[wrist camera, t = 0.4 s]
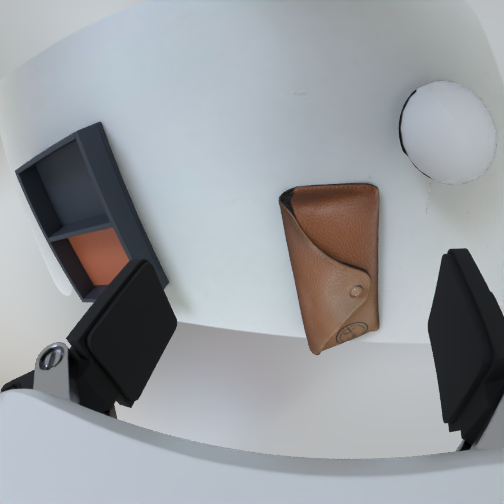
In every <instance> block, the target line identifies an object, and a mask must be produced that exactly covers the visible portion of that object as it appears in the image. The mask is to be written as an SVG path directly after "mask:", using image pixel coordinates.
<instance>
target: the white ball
mask: <svg viewBox="0 0 504 504" xmlns="http://www.w3.org/2000/svg"><path fill="white" fill-rule="evenodd" d="M399 138H400V143H401V147H402V150H403V152H404V153H405V154H406V155H407V156H408V157H409V159H410V160H411V162H412V163H413V164H414V166H415V167H416V168H417V169H418V170H419V171H420V172H422V173H423V174H424V175H426V176H428V177H429V178H432V179H434V180H435V181H437V182H441V183H445V184H449V185H454V184H464V183H467V182H469V181H472V180H474V179H476V178H478V177H480V176H481V175H482V174H483V173H484V172H485V171H486V170H487V169H488V167H489V165H490V164H491V162H492V160H493V158H494V155H495V151H496V146H497V138H496V129H495V125H494V122H493V119H492V116H491V113H490V111H489V109H488V108H487V107H486V105H485V104H484V102H483V101H482V99H481V98H479V97H478V96H477V95H476V94H474V93H473V92H472V91H471V90H469V89H468V88H466V87H464V86H462V85H460V84H457V83H454V82H451V81H434V82H431V83H429V84H426V85H424V86H422V87H419V88H418V89H416V90H415V91H414V92H413V93H412V94H411V95H410V96H409V97H408V99H407V101H406V102H405V104H404V106H403V109H402V111H401V115H400V120H399ZM430 185H431V183H430ZM429 191H430V189H429ZM428 200H429V197H428ZM427 206H428V204H427ZM426 214H427V210H426Z"/></svg>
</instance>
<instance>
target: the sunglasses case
mask: <svg viewBox="0 0 504 504" xmlns="http://www.w3.org/2000/svg"><path fill="white" fill-rule="evenodd" d="M279 205H280V208H281V214H282V220H283V225H284V230H285V236H286V241H287V246H288V251H289V256H290V261H291V266H292V271H293V275H294V280H295V285H296V290H297V294H298V300H299V305H300V310H301V315H302V320H303V324H304V329H305V333H306V336H307V340H308V345H309V348H310V350H311V352H312V353H313V354H315V355H319V354H320V353H321V351H324V350H326V349H329V348H331V347H334V346H336V345H338V344H342V343H344V342H346V341H349V340H351V339H354V338H356V337H359V336H361V335H363V334H366V333H368V332H370V331H377V330H378V329H379V318H378V317H379V316H378V220H379V191H378V188H377V187H375V186H374V185H371V184H368V183H346V184H328V185H311V186H300V187H295V188H292V189H289V190H287V191H286V192H284V193H283V194H281V196H280V197H279Z"/></svg>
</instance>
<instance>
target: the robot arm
mask: <svg viewBox="0 0 504 504" xmlns="http://www.w3.org/2000/svg"><path fill="white" fill-rule="evenodd" d="M176 327H177V319H176V317H175V315H174V312H173V310H172V308H171V306H170V304H169V301H168V299H167V297H166V295H165V292H164V290H163V288H162V285H161V283H160V281H159V278H158V276H157V274H156V271H155V269H154V266H153V265H152V264H151V263H149V261H148V260H147V259H132V260H130V261H129V262H128V263H127V264H126V265H125V266H124V268H123V269H122V270H121V271H120V272H119V273H118V274H117V276H116V277H115V278H114V279H113V280H112V282H111V283H110V284H109V285H108V286H107V287H106V289H105V290H104V291H103V292H102V294H101V295H100V296H99V297H98V298H97V300H96V301H95V302H94V303H93V305H92V306H91V307H90V308H89V309H88V311H87V312H86V313H85V315H84V316H83V317H82V318H81V320H80V321H79V322H78V323H77V325H76V326H75V327H74V329H73V330H72V331H71V332H70V334H69V335H68V336H67V338H66V339H67V340H68V342H69V343H70V344H71V348H70V349H69V348H68V347H67V346H66V344H64V343H62V342H56V343H53V344H51V345H49V346H47V347H46V348H45V349H44V350H43V351H42V352H41V353H40V354H39V356H38V358H37V360H36V363H35V370H33V371H31V372H29V373H27V374H25V375H23V376H21V377H18V378H16V379H14V380H12V381H10V382H8V383H6V384H5V385H4V386H3V387H2V389H1V393H0V504H504V316H503V314H502V311H501V309H500V307H499V305H498V303H497V301H496V299H495V297H494V295H493V293H492V292H490V290H489V288H488V286H487V284H486V282H485V280H484V278H483V276H482V274H481V273H480V271H479V269H478V267H477V265H476V263H475V261H474V260H473V258H472V256H471V254H470V253H469V251H468V250H467V249H466V248H463V249H449V250H448V253H447V254H444V255H443V256H442V260H441V266H440V271H439V276H438V281H437V286H436V291H435V295H434V299H433V304H432V308H431V312H430V316H429V320H428V333H429V337H430V342H431V346H432V352H433V357H434V362H435V368H436V373H437V379H438V385H439V392H440V400H441V408H442V416H443V421H444V423H448V425H449V432H453V431H459V430H461V436H462V439H463V441H462V443H461V444H460V446H459V447H458V449H457V450H456V451H455V452H448V453H440V454H431V455H423V456H412V457H399V458H378V459H321V458H304V457H291V456H280V455H271V454H262V453H255V452H249V451H242V450H236V449H230V448H224V447H219V446H213V445H209V444H204V443H200V442H195V441H190V440H186V439H182V438H178V437H174V436H171V435H167V434H163V433H159V432H156V431H153V430H149V429H146V428H142V427H139V426H136V425H133V424H130V423H127V422H124V421H121V420H118V419H117V416H116V411H115V406H114V403H115V401H117V402H118V403H119V404H120V405H123V406H126V407H130V408H131V407H132V405H133V404H134V402H135V401H136V400H138V398H139V397H140V395H141V393H142V391H143V389H144V387H145V386H146V384H147V382H148V380H149V378H150V376H151V374H152V372H153V370H154V368H155V367H156V364H157V363H158V361H159V359H160V357H161V355H162V354H163V352H164V350H165V348H166V346H167V344H168V342H169V340H170V339H171V337H172V335H173V333H174V331H175V329H176Z"/></svg>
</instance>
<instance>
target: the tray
mask: <svg viewBox="0 0 504 504" xmlns="http://www.w3.org/2000/svg"><path fill="white" fill-rule="evenodd" d="M15 173H16V175H17V178H18V180H19V183H20V185H21V187H22V190H23V192H24V194H25V197H26V199H27V201H28V203H29V205H30V208H31V210H32V212H33V214H34V216H35V218H36V220H37V222H38V224H39V226H40V228H41V230H42V232H43V234H44V236H45V238H46V240H47V242H48V244H49V246H50V248H51V249H52V251H53V253H54V255H55V257H56V259H57V260H58V262H59V264H60V266H61V267H62V269H63V271H64V273H65V274H66V276H67V278H68V279H69V281H70V283H71V284H72V286H73V287H74V289H75V291H76V292H77V294H78V295H79V297H80V298H81V300H82V302H95V301H96V300H97V298H98V297H99V296H100V295H101V294H102V292H103V291H104V290H105V289H106V287H107V286H108V285H109V284H110V283H111V282H112V280H113V279H114V278H115V277H116V276H117V274H118V273H119V272H120V271H121V270H122V269H123V268H124V266H125V265H126V264H127V263H128V262H129V261H130V260H132V259H147V260H148V261H149V263H151V264H152V265H153V266H154V269H155V271H156V274H157V276H158V278H159V281H160V283H161V285H162V288H163V290H164V289H165V287H166V285H167V284H168V283H169V282H168V280H167V278H166V276H165V274H164V272H163V270H162V267H161V265H160V263H159V261H158V259H157V257H156V255H155V253H154V251H153V249H152V246H151V244H150V242H149V240H148V238H147V236H146V233H145V231H144V229H143V227H142V224H141V222H140V220H139V218H138V215H137V213H136V211H135V209H134V206H133V204H132V201H131V199H130V197H129V194H128V192H127V190H126V187H125V185H124V182H123V180H122V177H121V175H120V172H119V170H118V167H117V165H116V162H115V160H114V157H113V154H112V152H111V149H110V146H109V144H108V141H107V138H106V136H105V133H104V130H103V127H102V124H101V122H98V123H96V124H93V125H91V126H88V127H86V128H83V129H81V130H78V131H76V132H74V133H73V134H71V135H69V136H68V137H66V138H64V139H62V140H61V141H59V142H57V143H56V144H54V145H53V146H51V147H49V148H48V149H46V150H45V151H43V152H42V153H40V154H39V155H37V156H36V157H34V158H33V159H31V160H30V161H28V162H27V163H25V164H24V165H22V166H21V167H20V168H18V169H17V170H15Z"/></svg>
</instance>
